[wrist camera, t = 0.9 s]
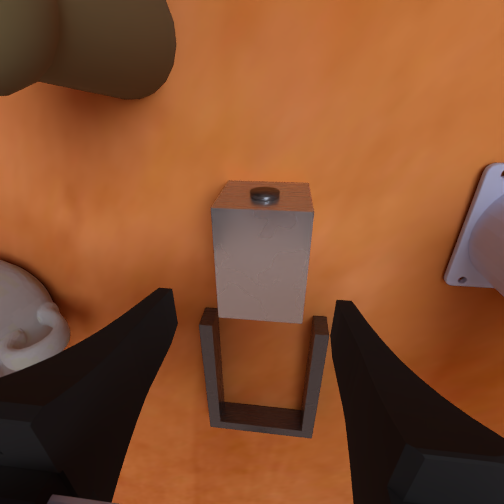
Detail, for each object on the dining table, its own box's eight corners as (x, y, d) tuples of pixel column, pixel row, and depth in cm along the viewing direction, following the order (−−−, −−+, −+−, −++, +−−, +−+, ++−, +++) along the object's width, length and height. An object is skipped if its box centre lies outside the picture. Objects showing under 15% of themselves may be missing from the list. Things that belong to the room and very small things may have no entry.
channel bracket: (326, 316, 23) (329, 335, 22) (310, 417, 30) (311, 438, 28) (205, 307, 24) (198, 324, 22) (215, 407, 31) (210, 426, 29)
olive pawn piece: (136, 123, 18) (-42, 167, 8) (45, 38, 16) (-306, -29, 7) (199, 32, 15) (46, -54, 6) (99, -80, 14) (-342, -455, 4)
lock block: (308, 177, 18) (314, 205, 14) (300, 276, 22) (302, 323, 18) (228, 175, 19) (210, 201, 15) (232, 272, 22) (218, 317, 18)
